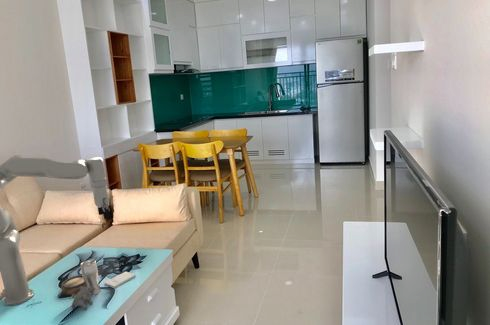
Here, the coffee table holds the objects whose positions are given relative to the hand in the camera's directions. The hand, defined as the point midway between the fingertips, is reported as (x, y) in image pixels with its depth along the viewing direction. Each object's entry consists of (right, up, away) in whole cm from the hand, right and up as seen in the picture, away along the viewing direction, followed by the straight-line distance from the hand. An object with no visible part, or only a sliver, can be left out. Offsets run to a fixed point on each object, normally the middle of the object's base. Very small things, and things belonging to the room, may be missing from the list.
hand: (105, 216), depth 199 cm
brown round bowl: (-11, -34, -6) cm, 36 cm away
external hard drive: (+9, -32, -3) cm, 33 cm away
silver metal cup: (-1, -34, -12) cm, 36 cm away
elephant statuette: (-1, -36, -21) cm, 42 cm away
